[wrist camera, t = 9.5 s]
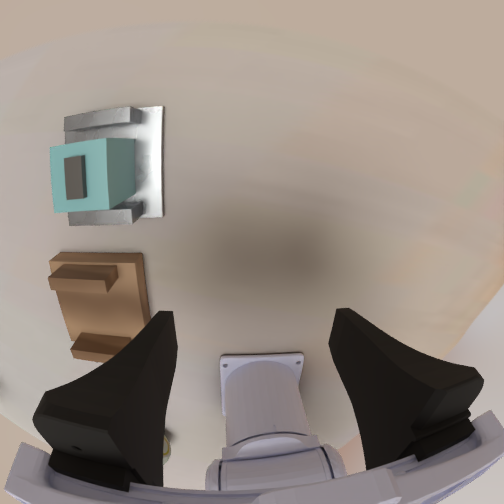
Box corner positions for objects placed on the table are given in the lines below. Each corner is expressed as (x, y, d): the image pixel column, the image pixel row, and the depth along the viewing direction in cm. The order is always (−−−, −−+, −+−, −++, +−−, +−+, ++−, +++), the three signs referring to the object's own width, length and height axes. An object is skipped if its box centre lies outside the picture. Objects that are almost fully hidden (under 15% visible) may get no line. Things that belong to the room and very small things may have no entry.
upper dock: (153, 335, 24) (143, 368, 20) (79, 328, 23) (61, 357, 19) (141, 253, 21) (124, 278, 17) (60, 252, 20) (33, 274, 16)
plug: (135, 193, 19) (106, 211, 14) (88, 196, 19) (50, 215, 13) (134, 138, 18) (102, 137, 12) (85, 144, 17) (45, 148, 12)
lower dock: (164, 215, 20) (154, 226, 17) (73, 217, 20) (54, 229, 17) (164, 107, 17) (153, 100, 15) (69, 119, 17) (48, 118, 14)
